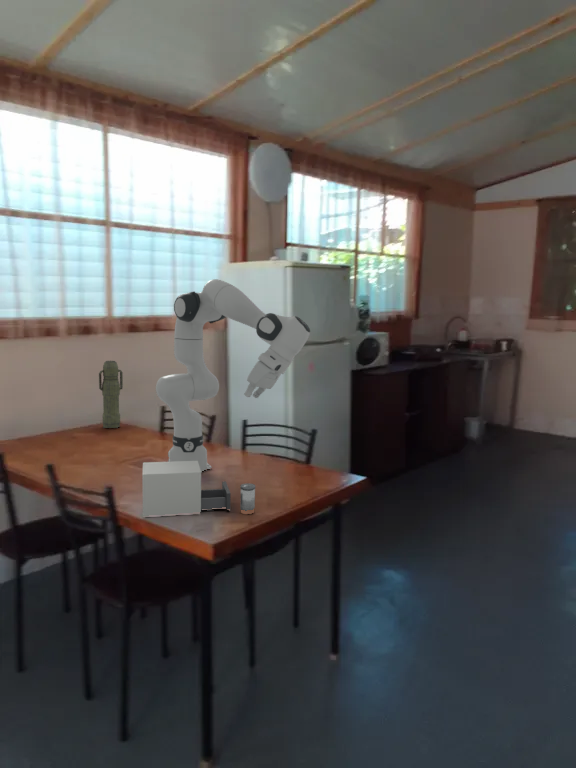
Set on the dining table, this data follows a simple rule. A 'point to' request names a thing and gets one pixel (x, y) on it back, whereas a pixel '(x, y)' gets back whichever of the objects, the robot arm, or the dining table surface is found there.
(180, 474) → the grey box
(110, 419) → the thermos
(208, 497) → the grey drawer
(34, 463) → the dining table surface
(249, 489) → the canister
